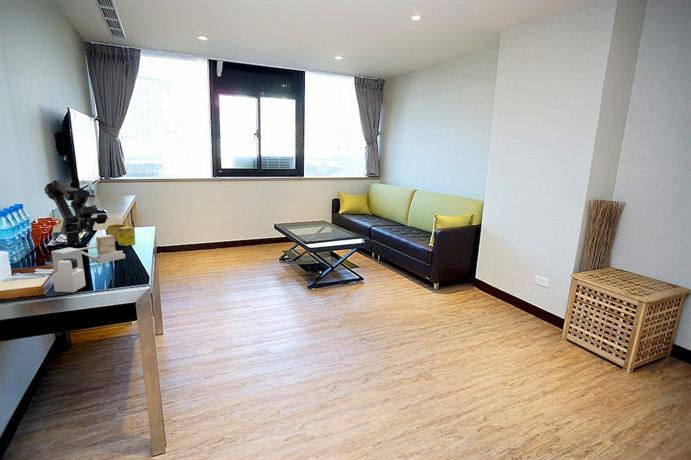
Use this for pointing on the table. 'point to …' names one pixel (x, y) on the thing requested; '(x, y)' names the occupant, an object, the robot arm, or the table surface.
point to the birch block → (105, 244)
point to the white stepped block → (68, 276)
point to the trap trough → (105, 255)
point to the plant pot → (114, 230)
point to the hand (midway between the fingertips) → (92, 233)
